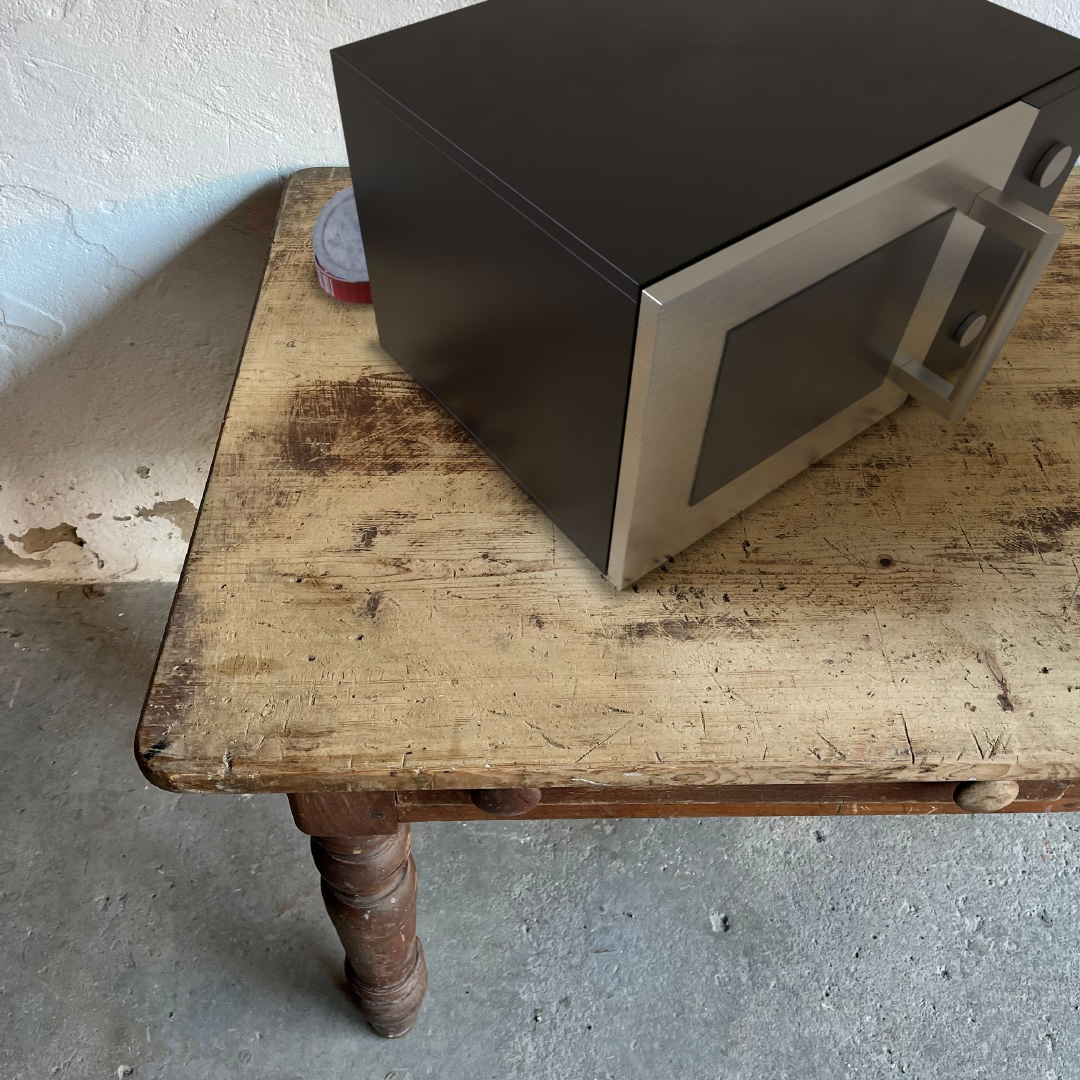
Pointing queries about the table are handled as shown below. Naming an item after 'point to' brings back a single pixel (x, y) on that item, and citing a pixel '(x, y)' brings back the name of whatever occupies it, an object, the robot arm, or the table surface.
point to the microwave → (647, 185)
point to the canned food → (341, 250)
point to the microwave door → (813, 336)
